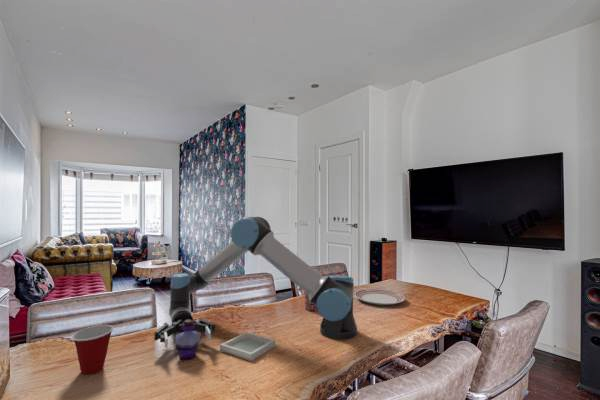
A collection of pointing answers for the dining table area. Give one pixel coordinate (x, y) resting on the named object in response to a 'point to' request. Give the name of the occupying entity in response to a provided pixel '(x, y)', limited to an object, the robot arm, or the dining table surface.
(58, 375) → the dining table surface
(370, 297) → the dinner plate
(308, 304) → the mug
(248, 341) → the dish
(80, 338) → the plastic cup
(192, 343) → the potion bottle
